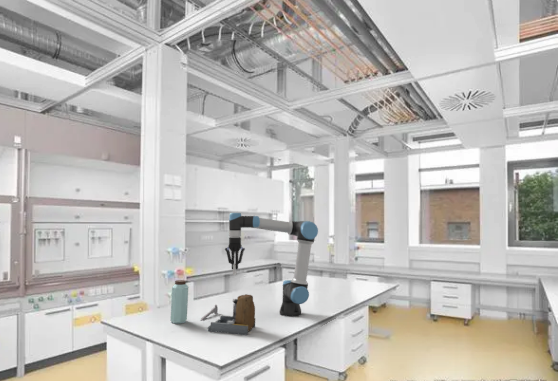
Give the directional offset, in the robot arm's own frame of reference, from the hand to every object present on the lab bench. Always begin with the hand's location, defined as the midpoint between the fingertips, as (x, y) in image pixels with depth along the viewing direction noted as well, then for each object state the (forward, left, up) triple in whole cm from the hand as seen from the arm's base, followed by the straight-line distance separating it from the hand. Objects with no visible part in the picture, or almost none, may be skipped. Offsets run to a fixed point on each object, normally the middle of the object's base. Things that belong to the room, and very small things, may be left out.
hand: (234, 274), depth 231 cm
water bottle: (+32, +9, -30) cm, 45 cm away
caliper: (+19, -8, -30) cm, 36 cm away
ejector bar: (-6, +13, -29) cm, 32 cm away
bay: (-5, +13, -30) cm, 33 cm away
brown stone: (-12, +13, -30) cm, 34 cm away
